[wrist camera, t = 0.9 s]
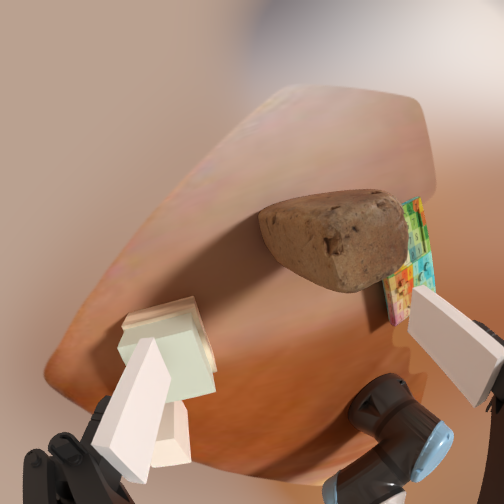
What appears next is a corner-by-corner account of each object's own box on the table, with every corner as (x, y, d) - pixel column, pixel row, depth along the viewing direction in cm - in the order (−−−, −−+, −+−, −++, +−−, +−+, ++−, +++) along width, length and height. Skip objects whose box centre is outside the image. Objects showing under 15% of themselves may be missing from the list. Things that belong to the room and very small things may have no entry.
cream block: (187, 410, 40) (191, 462, 28) (155, 417, 39) (153, 467, 27) (174, 385, 39) (174, 438, 27) (141, 392, 38) (133, 444, 26)
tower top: (211, 369, 34) (216, 391, 30) (151, 384, 33) (148, 406, 28) (191, 312, 33) (191, 329, 28) (125, 329, 31) (117, 347, 26)
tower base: (213, 353, 39) (217, 371, 35) (153, 368, 38) (150, 387, 33) (193, 294, 37) (194, 307, 33) (128, 312, 36) (121, 326, 31)
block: (264, 260, 39) (336, 310, 19) (249, 209, 37) (315, 211, 18) (330, 237, 40) (430, 261, 21) (318, 188, 39) (419, 180, 20)
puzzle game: (398, 328, 42) (377, 220, 37) (382, 319, 46) (359, 218, 41) (438, 296, 43) (423, 196, 39) (422, 290, 48) (406, 196, 43)
